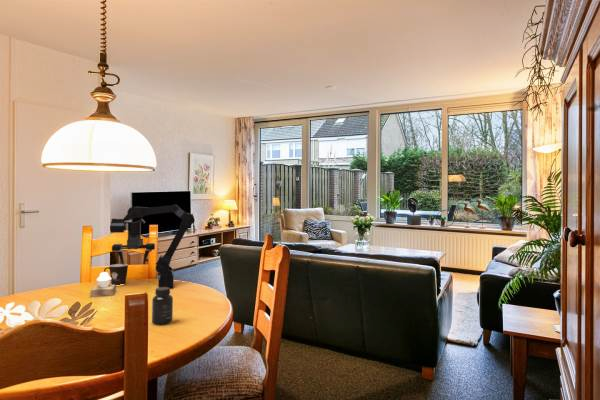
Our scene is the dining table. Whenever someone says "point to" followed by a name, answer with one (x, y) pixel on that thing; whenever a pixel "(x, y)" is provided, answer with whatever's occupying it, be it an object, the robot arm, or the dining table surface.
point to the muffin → (104, 280)
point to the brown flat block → (103, 291)
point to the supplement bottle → (162, 306)
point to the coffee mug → (118, 273)
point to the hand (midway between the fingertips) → (133, 264)
